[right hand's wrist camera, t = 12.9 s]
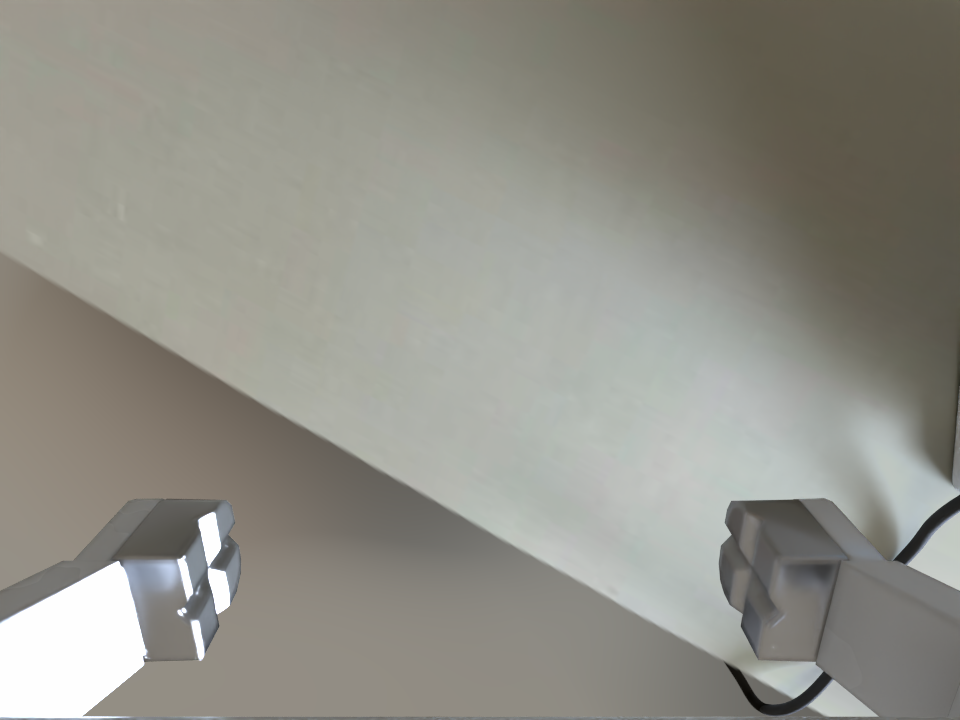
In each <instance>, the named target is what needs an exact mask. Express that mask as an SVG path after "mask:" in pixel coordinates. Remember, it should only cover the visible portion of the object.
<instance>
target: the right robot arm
mask: <svg viewBox="0 0 960 720" xmlns="http://www.w3.org/2000/svg"><path fill="white" fill-rule="evenodd" d="M952 482H953V486H954V488H955V489H957V490H958V491H959V492H960V388H959V400H958V412H957V424H956V437H955V449H954V461H953V475H952ZM959 512H960V495H959V496H957V497H956V498H954V499H953V500H951V501H949V502H948V503H947V504H945V505H944V506H942V507H941V508H940V509H938V510H937V511H936V512H935V513H934V514H933V515H931V516H930V517H929V518H928V519H927V520H926V521H925V523H924V524H923V525H922V526H921V528H920V529H919V531H918V532H917V534H916V535H915V536H914V538H913V539H912V540H911V541H910V543H909V544H908V545H907V546H906V547H905V548H904V549H903V550H902V551H901V553H900V554H899V555H898V556H897V557H896V558H895V559H894V560H893V561H887V560H886V559H885V558H884V557H883V556H882V555H881V554H880V553H879V552H878V551H877V549H876V548H875V547H874V546H873V545H872V544H871V543H870V542H869V541H868V540H867V539H866V537H865V536H864V535H863V534H862V533H861V532H860V531H859V530H858V529H857V528H856V527H855V526H854V524H853V523H852V522H851V521H850V520H849V519H848V518H847V517H846V516H845V515H844V514H843V513H842V511H841V510H840V509H839V508H838V507H837V506H836V505H835V504H834V503H833V502H832V501H830V500H827V499H825V498H816V499H793V500H755V501H731V503H730V505H729V507H728V509H727V513H726V519H725V524H726V526H727V527H728V529H729V531H730V532H731V534H732V535H731V536H730V537H729V538H728V539H727V540H726V541H725V542H724V543H723V544H722V545H721V550H720V558H719V570H720V581H721V584H722V588H723V591H724V594H725V596H726V598H727V600H728V602H729V604H730V605H731V606H732V607H734V608H735V609H736V610H738V611H739V612H741V613H742V614H743V617H742V622H741V628H742V630H743V632H744V633H745V635H746V637H747V639H748V641H749V643H750V645H751V647H752V649H753V651H754V653H755V655H756V656H757V658H758V660H775V661H811V662H816V665H817V666H818V667H820V668H821V669H822V670H823V671H824V672H823V673H822V674H821V675H820V676H819V678H818V679H817V680H816V681H815V682H814V683H813V684H812V685H811V686H810V687H809V688H808V689H807V690H806V691H805V692H803V693H802V694H801V695H800V696H798V697H797V698H795V699H793V700H791V701H789V702H786V703H783V704H777V705H770V704H765V703H763V702H762V701H761V700H760V699H759V698H758V697H757V696H756V695H755V693H754V692H753V690H752V689H751V687H750V685H749V684H748V682H747V680H746V678H745V677H744V675H743V674H742V672H741V671H740V669H738V668H736V667H735V666H733V665H730V664H728V663H727V662H725V661H724V663H725V664H726V666H727V667H728V669H729V670H730V672H731V674H732V675H733V676H734V678H735V680H736V681H737V683H738V685H739V686H740V688H741V690H742V692H743V693H744V695H745V697H746V698H747V700H748V701H749V703H750V704H751V705H752V706H753V707H754V708H755V709H756V710H758V711H759V712H761V713H763V714H766V715H769V716H785V715H789V714H792V713H795V712H797V711H799V710H801V709H803V708H804V707H806V706H807V705H809V704H810V703H811V702H812V701H814V700H815V699H816V698H817V697H818V696H819V695H820V694H821V693H822V692H823V691H824V690H825V689H826V688H827V687H828V685H829V684H830V683H831V682H832V681H833V680H835V681H837V682H838V683H839V684H840V685H841V686H843V687H844V688H845V689H846V690H848V691H849V692H850V693H851V694H852V695H854V696H855V697H856V698H857V699H858V700H860V701H861V702H862V703H863V704H865V705H866V706H867V707H868V708H869V709H871V710H872V711H873V712H874V713H876V714H877V715H878V716H879V717H81V716H82V715H83V714H85V713H86V712H87V711H88V710H89V709H91V708H92V707H93V706H94V705H96V704H97V703H98V702H99V701H101V700H102V699H103V698H104V697H105V696H107V695H108V694H109V693H110V692H112V691H113V690H114V689H115V688H116V687H118V686H119V685H120V684H121V683H122V682H124V681H125V680H126V679H127V678H129V677H130V676H131V675H132V674H133V673H135V672H136V671H137V670H138V669H140V668H141V667H142V666H143V665H144V662H148V661H184V660H202V658H203V657H204V655H205V653H206V651H207V649H208V647H209V645H210V643H211V641H212V639H213V637H214V635H215V633H216V632H217V630H218V628H219V622H218V617H217V614H218V613H219V612H221V611H222V610H224V609H225V608H226V607H228V606H229V605H230V604H231V602H232V600H233V598H234V596H235V594H236V592H237V588H238V583H239V579H240V574H241V556H240V549H239V545H238V544H237V543H236V542H235V541H234V540H233V539H232V538H231V537H230V536H229V535H228V534H229V532H230V531H231V529H232V527H233V525H234V524H235V520H234V515H233V510H232V505H231V504H230V503H229V502H228V501H227V500H200V499H134V500H130V501H128V502H127V503H126V504H125V505H124V506H123V507H122V508H121V509H120V510H119V512H118V513H117V514H116V515H115V516H114V517H113V518H112V519H111V520H110V521H109V522H108V523H107V525H106V526H105V527H104V528H103V529H102V530H101V531H100V532H99V533H98V534H97V535H96V536H95V538H94V539H93V540H92V541H91V542H90V543H89V544H88V545H87V546H86V547H85V548H84V549H83V551H82V552H81V553H80V554H79V555H78V556H77V557H76V558H75V559H74V560H73V561H61V562H59V563H57V564H55V565H53V566H51V567H49V568H47V569H45V570H43V571H41V572H39V573H36V574H34V575H32V576H30V577H28V578H26V579H24V580H22V581H20V582H18V583H16V584H14V585H12V586H9V587H7V588H5V589H3V590H1V591H0V720H960V591H959V590H957V589H955V588H953V587H950V586H948V585H946V584H944V583H942V582H940V581H938V580H936V579H934V578H932V577H930V576H928V575H926V574H923V573H921V572H919V571H917V570H915V569H913V568H911V567H909V566H907V565H908V564H909V563H910V562H911V560H912V559H913V558H914V557H915V556H916V555H917V554H918V553H919V552H920V551H921V549H922V548H923V547H924V546H925V544H926V543H927V542H928V540H929V539H930V538H931V536H932V535H933V534H934V533H935V532H936V530H937V529H938V528H940V527H941V526H942V525H943V524H944V523H945V522H947V521H948V520H949V519H950V518H952V517H953V516H955V515H956V514H957V513H959Z"/></svg>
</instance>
